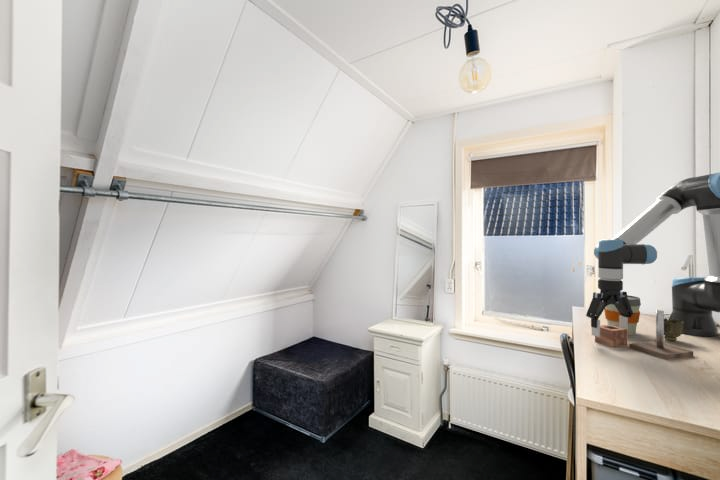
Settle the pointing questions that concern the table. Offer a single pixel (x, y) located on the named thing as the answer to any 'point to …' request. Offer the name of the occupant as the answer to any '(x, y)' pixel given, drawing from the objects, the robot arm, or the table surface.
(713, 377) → the table surface
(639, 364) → the table surface
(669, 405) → the table surface
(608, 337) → the brown open box
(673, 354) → the brown square board
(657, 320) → the silver metal rod
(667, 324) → the cup
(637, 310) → the reusable coffee cup
